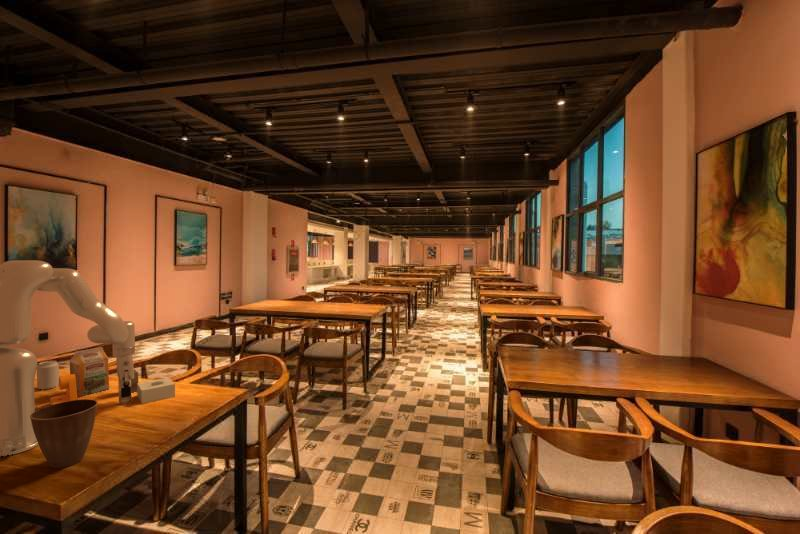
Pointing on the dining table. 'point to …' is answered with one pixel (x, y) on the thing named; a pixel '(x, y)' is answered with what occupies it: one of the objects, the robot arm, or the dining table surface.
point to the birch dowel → (121, 400)
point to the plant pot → (64, 430)
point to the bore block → (155, 390)
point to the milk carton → (90, 371)
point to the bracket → (70, 386)
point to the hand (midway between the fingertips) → (125, 394)
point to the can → (47, 375)
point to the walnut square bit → (134, 382)
